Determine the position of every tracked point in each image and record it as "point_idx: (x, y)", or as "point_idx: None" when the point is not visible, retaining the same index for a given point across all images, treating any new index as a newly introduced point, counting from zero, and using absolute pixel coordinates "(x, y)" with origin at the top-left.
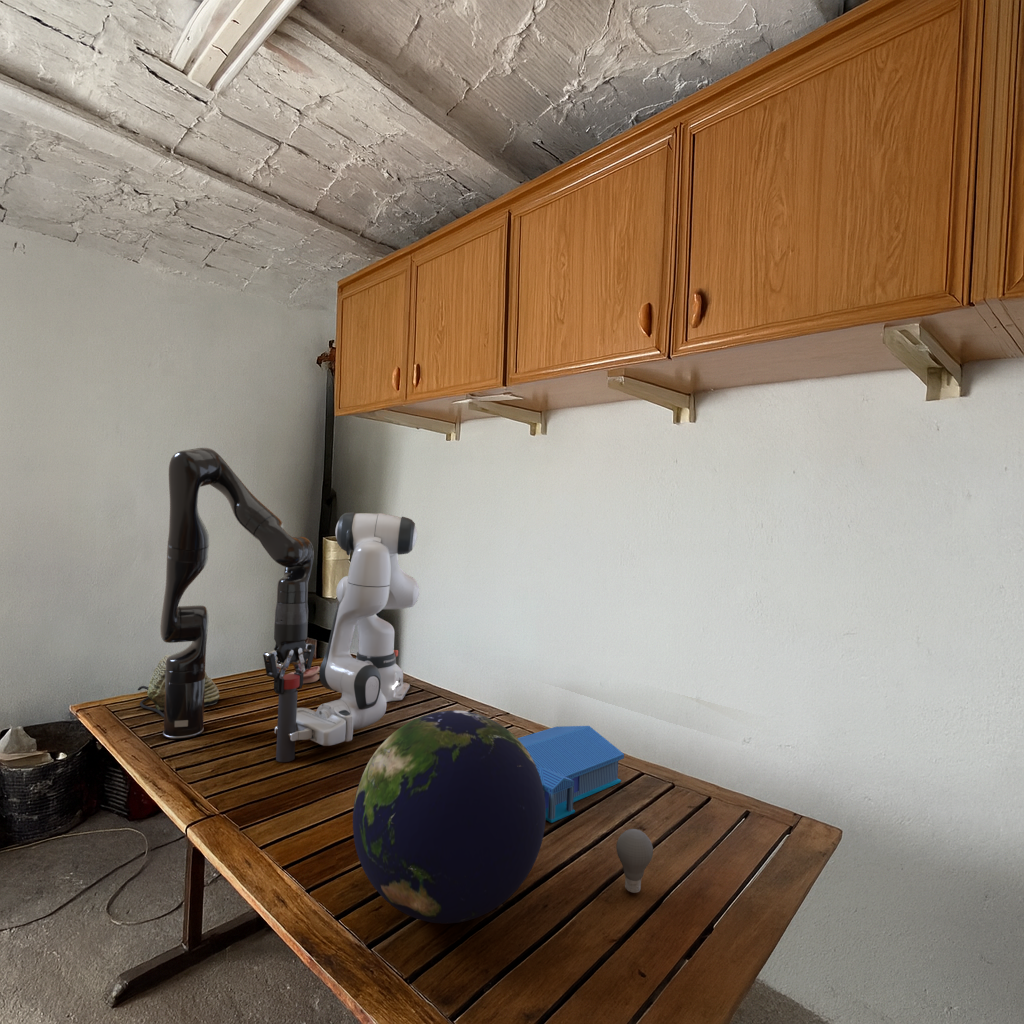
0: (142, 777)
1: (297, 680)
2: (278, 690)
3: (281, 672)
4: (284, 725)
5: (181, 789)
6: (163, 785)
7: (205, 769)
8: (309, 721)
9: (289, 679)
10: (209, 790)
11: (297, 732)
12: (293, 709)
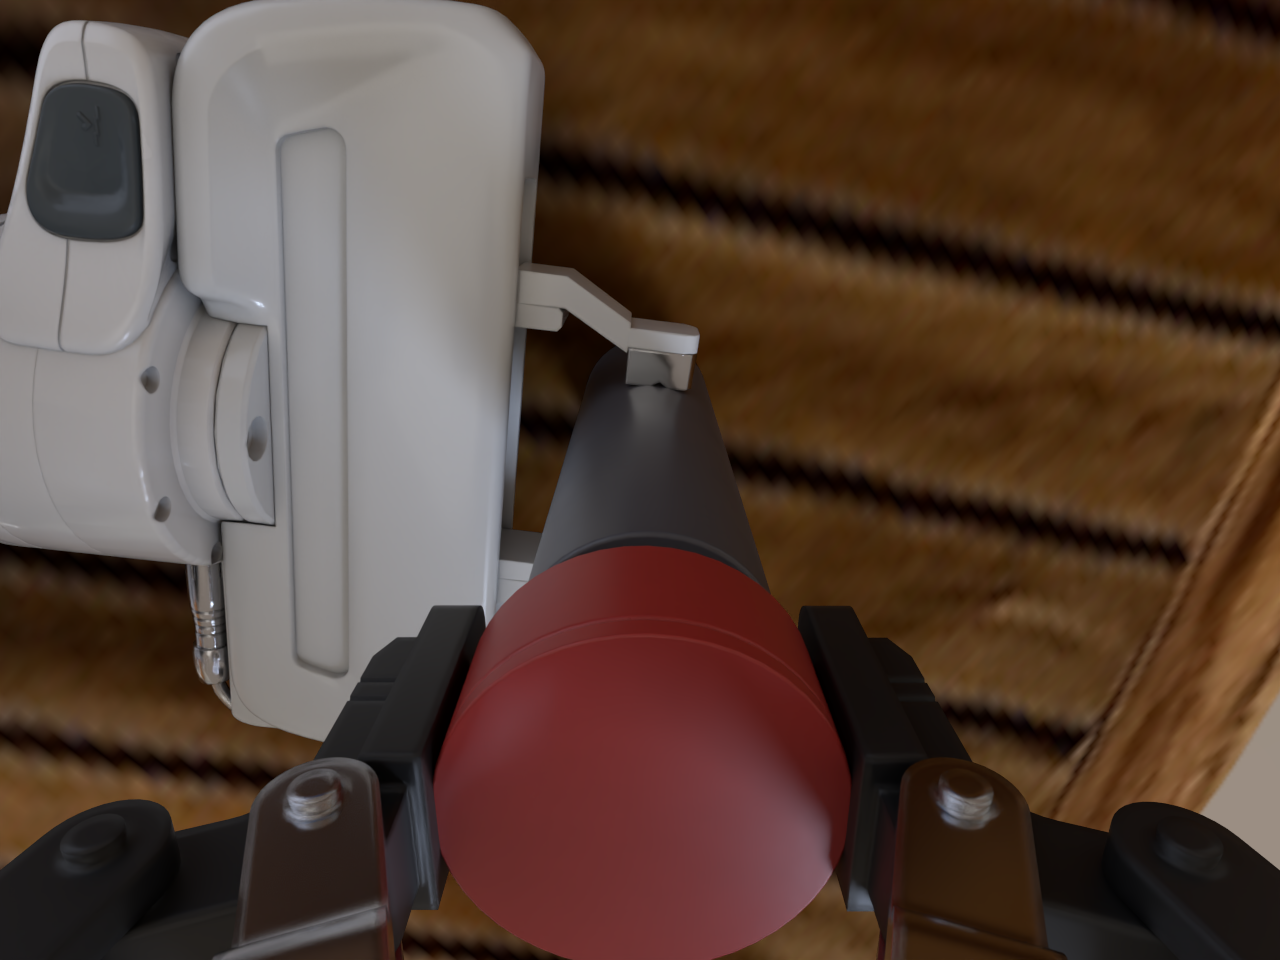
0: (1221, 782)
1: (598, 614)
2: (897, 654)
3: (1023, 873)
4: (718, 439)
5: (1263, 524)
6: (1258, 634)
7: (1007, 636)
8: (439, 395)
9: (766, 689)
10: (1215, 392)
11: (640, 329)
12: (648, 449)
